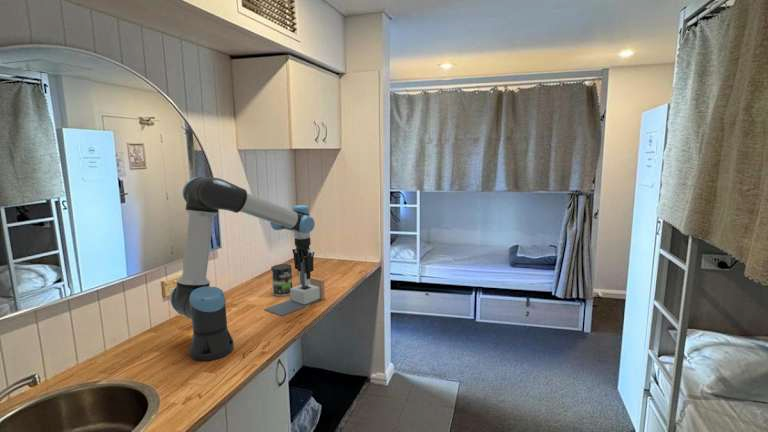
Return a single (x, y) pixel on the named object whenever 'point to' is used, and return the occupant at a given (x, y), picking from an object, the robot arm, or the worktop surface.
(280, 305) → the rubber mat
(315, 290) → the hole block
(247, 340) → the worktop surface
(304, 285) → the dowel
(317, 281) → the wall
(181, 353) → the worktop surface
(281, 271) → the coffee can
